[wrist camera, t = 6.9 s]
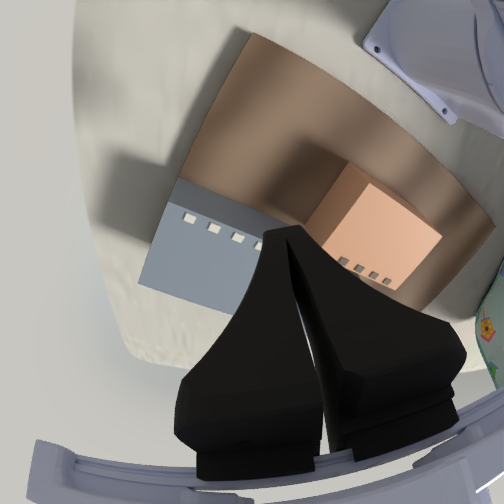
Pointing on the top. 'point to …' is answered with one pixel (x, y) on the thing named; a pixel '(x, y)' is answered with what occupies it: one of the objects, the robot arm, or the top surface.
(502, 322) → the lunch box
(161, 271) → the block
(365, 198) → the tan rectangular block
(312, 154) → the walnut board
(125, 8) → the top surface
